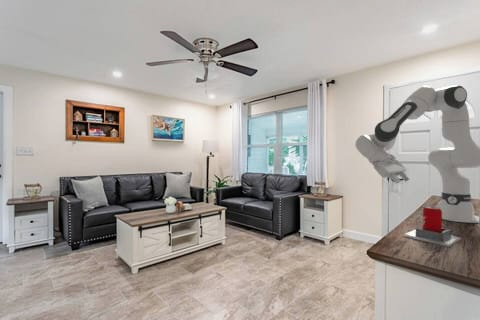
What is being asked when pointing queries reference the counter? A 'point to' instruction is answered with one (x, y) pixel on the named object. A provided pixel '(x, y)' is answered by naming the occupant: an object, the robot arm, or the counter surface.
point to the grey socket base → (434, 236)
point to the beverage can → (432, 218)
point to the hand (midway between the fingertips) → (403, 181)
